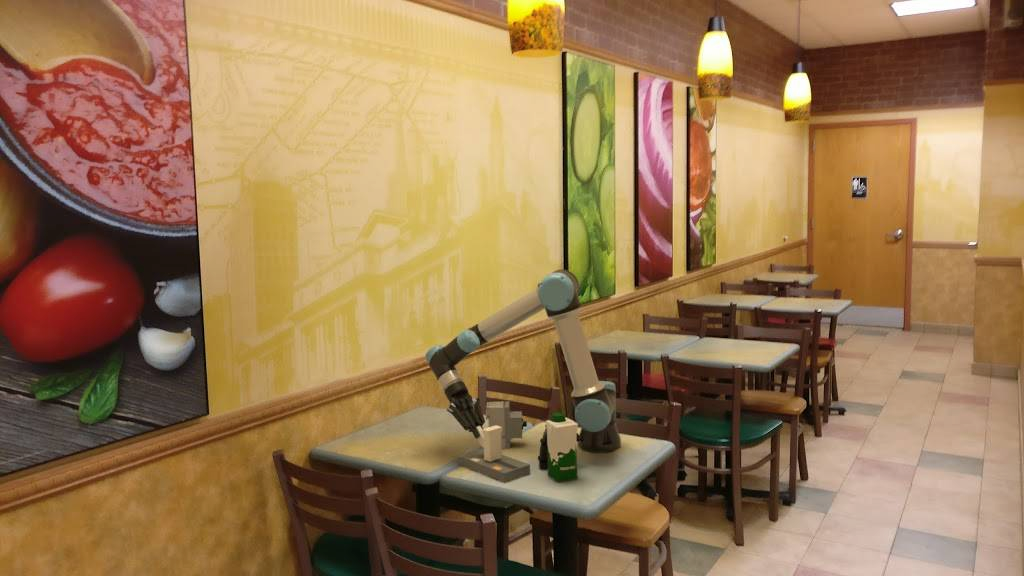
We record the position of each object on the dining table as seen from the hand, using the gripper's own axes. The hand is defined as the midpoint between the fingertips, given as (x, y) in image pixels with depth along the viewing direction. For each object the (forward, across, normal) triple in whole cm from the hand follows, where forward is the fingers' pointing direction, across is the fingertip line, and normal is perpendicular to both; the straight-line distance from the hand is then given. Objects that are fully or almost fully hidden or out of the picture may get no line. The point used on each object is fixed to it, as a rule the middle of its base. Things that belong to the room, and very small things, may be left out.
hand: (485, 444), depth 263 cm
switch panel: (+8, -1, -3) cm, 8 cm away
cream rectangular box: (+5, -1, -1) cm, 5 cm away
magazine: (+17, -17, +6) cm, 25 cm away
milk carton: (+23, -11, +12) cm, 28 cm away
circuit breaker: (-3, -19, -14) cm, 24 cm away
